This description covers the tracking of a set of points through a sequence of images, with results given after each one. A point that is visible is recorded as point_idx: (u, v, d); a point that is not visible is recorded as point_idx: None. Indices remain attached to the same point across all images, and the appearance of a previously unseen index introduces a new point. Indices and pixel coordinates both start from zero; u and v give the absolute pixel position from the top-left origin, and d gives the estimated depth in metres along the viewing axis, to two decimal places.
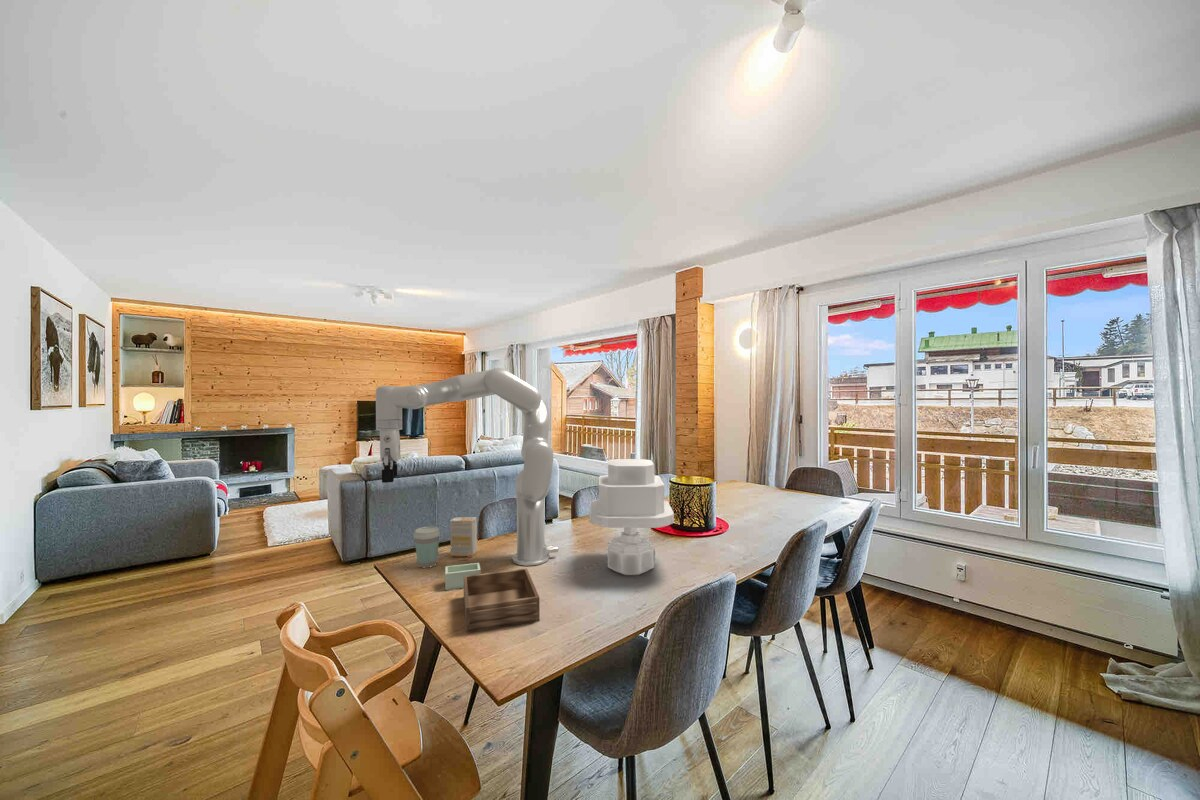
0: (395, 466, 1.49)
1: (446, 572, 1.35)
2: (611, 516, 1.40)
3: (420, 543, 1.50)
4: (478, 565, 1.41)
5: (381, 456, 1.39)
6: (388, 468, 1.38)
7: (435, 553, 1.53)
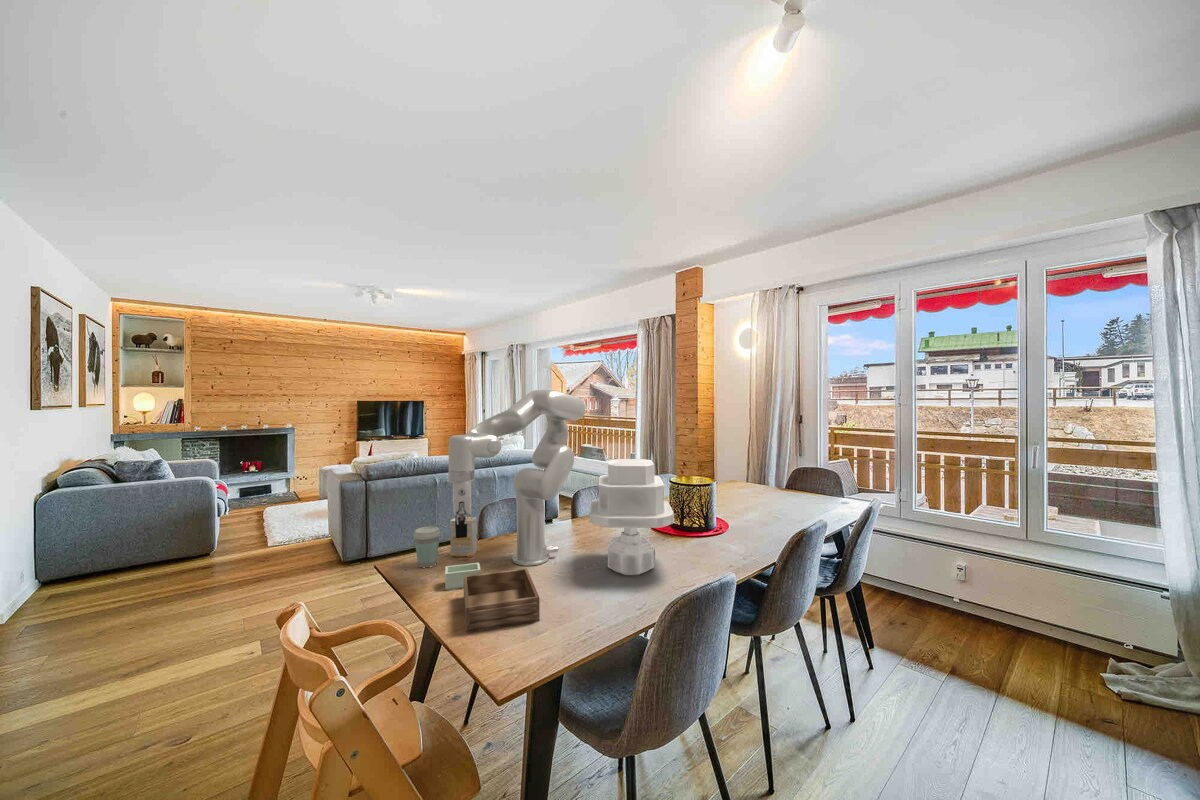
0: None
1: (446, 572, 1.35)
2: (611, 516, 1.40)
3: (420, 543, 1.50)
4: (478, 565, 1.41)
5: (455, 510, 1.33)
6: (463, 523, 1.32)
7: (435, 553, 1.53)
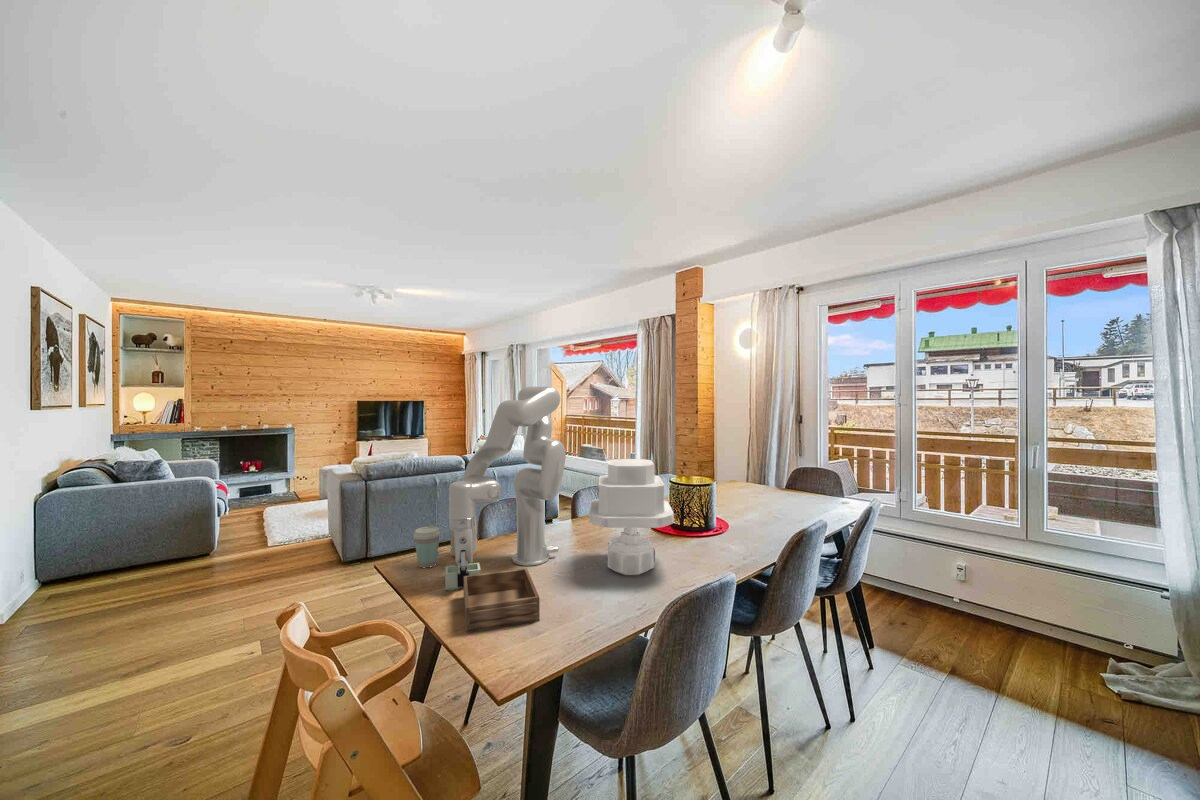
0: None
1: (446, 572, 1.35)
2: (611, 516, 1.40)
3: (420, 543, 1.50)
4: (478, 565, 1.41)
5: (457, 558, 1.33)
6: (464, 573, 1.34)
7: (435, 553, 1.53)
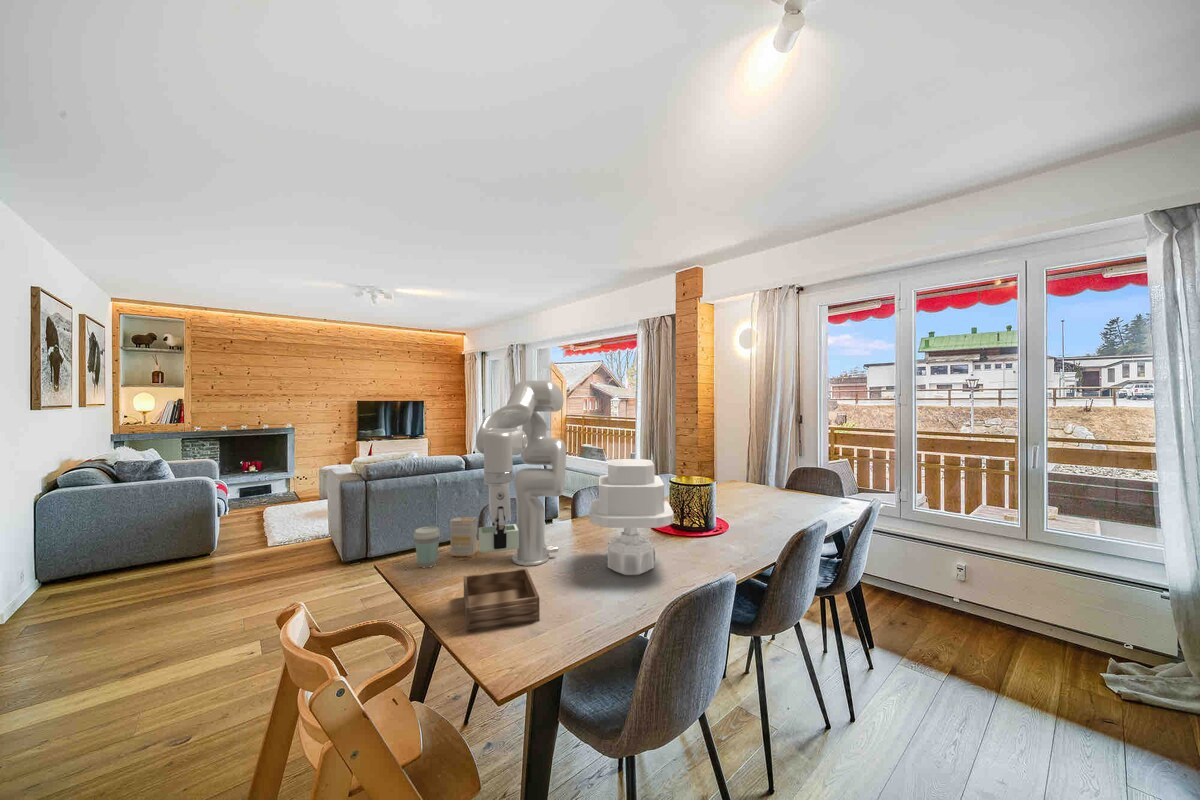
0: None
1: (480, 532, 1.20)
2: (611, 516, 1.40)
3: (420, 543, 1.50)
4: (515, 526, 1.25)
5: (493, 516, 1.18)
6: (502, 533, 1.19)
7: (435, 553, 1.53)
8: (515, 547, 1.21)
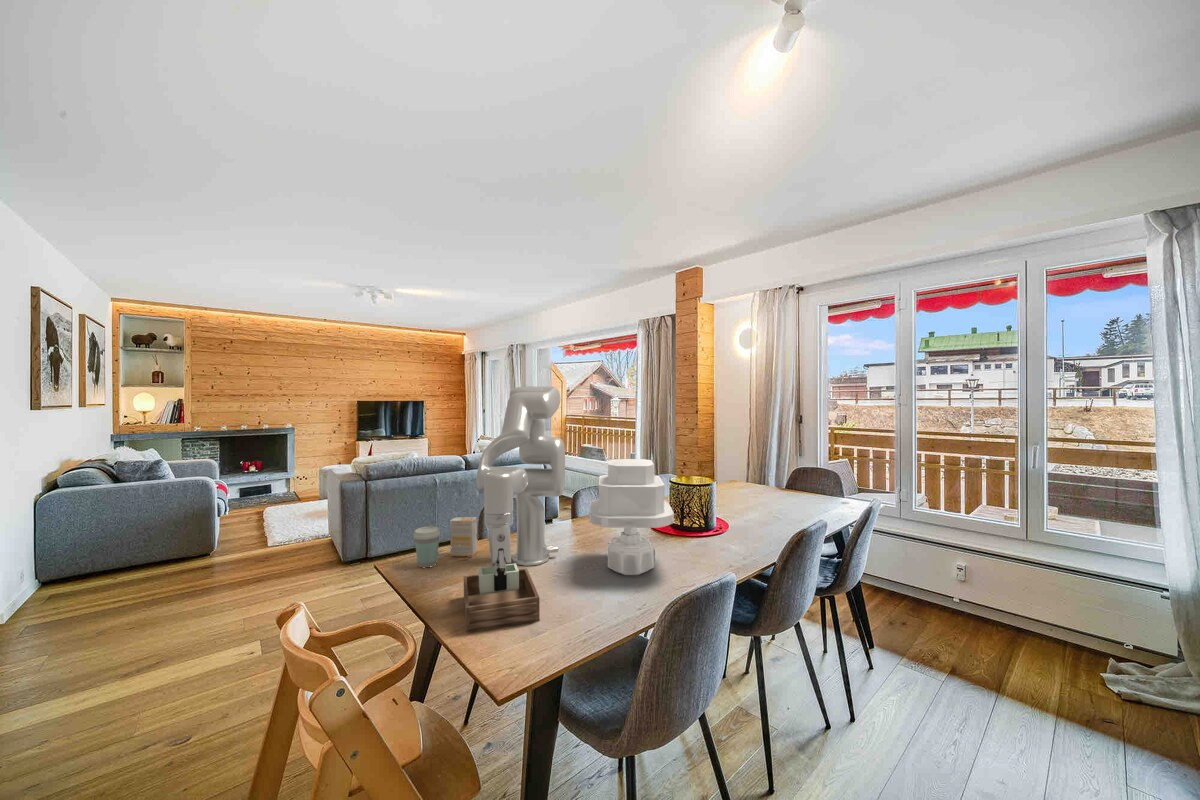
0: None
1: (481, 574, 1.20)
2: (611, 516, 1.40)
3: (420, 543, 1.50)
4: (515, 566, 1.25)
5: (494, 558, 1.18)
6: (502, 575, 1.19)
7: (435, 553, 1.53)
8: (515, 588, 1.21)
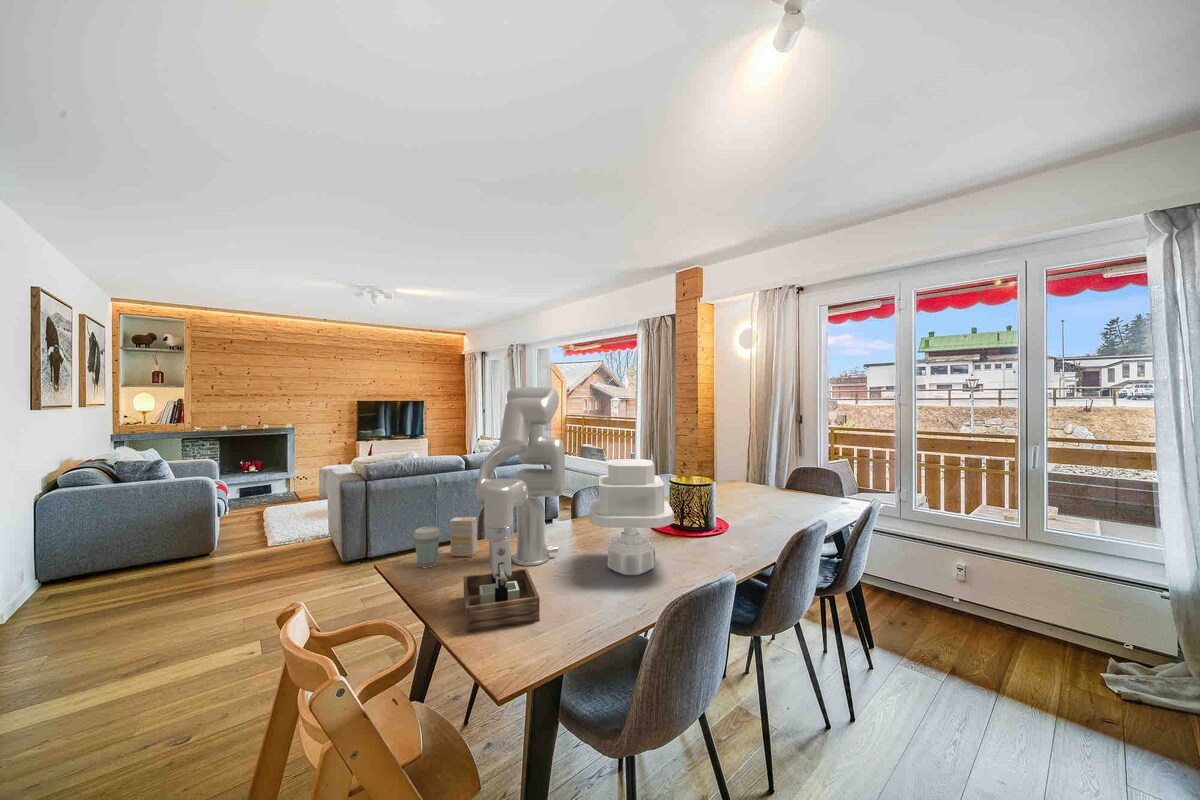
0: None
1: (481, 593, 1.20)
2: (611, 516, 1.40)
3: (420, 543, 1.50)
4: (516, 584, 1.25)
5: (494, 572, 1.18)
6: (503, 587, 1.17)
7: (435, 553, 1.53)
8: None
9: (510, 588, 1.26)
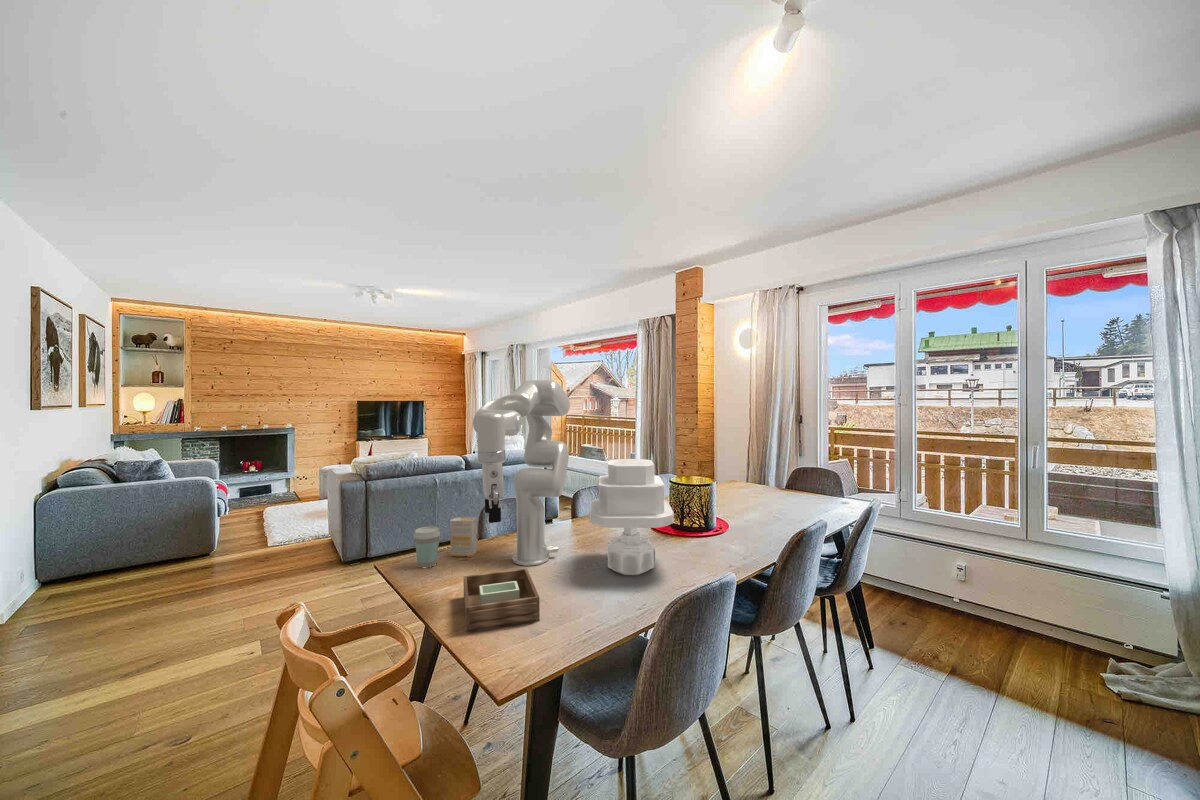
0: None
1: (481, 593, 1.20)
2: (611, 516, 1.40)
3: (420, 543, 1.50)
4: (516, 584, 1.25)
5: (487, 493, 1.23)
6: (496, 507, 1.23)
7: (435, 553, 1.53)
8: None
9: (510, 588, 1.26)
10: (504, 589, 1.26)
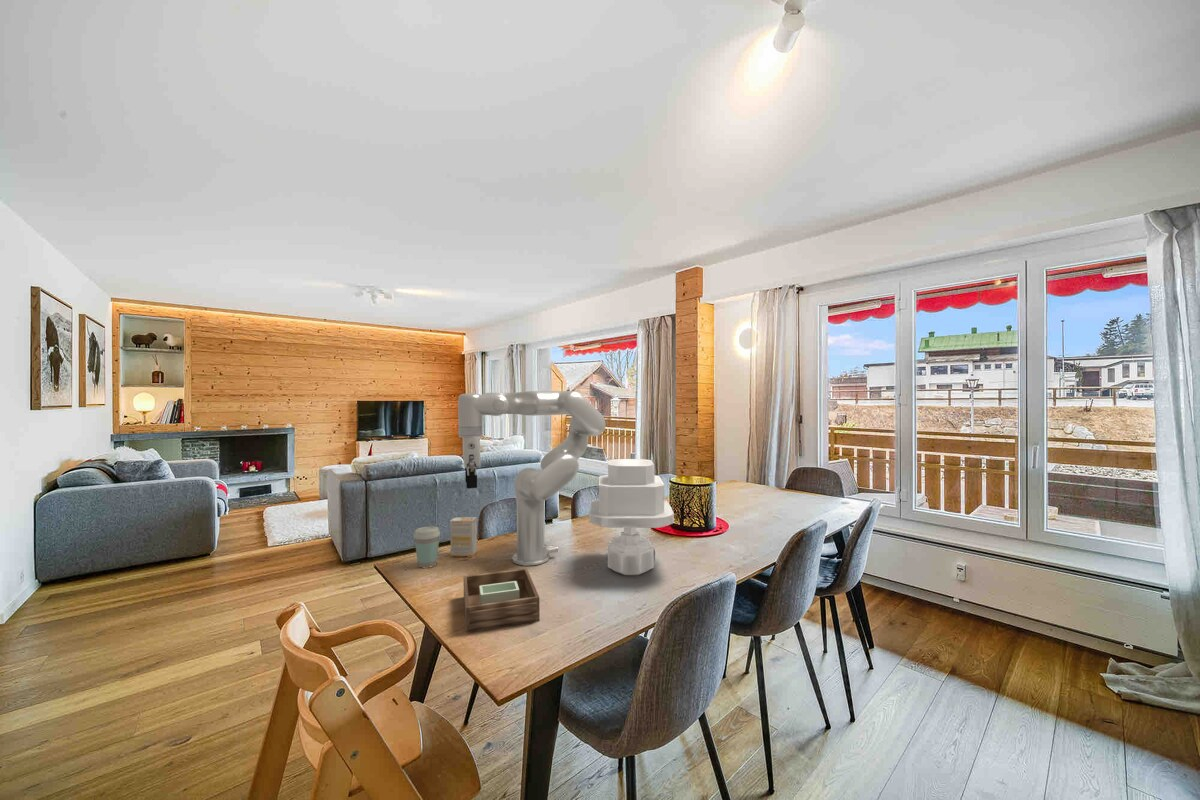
0: None
1: (481, 593, 1.20)
2: (611, 516, 1.40)
3: (420, 543, 1.50)
4: (516, 584, 1.25)
5: (466, 462, 1.42)
6: (473, 474, 1.42)
7: (435, 553, 1.53)
8: None
9: (510, 588, 1.26)
10: (504, 589, 1.26)
